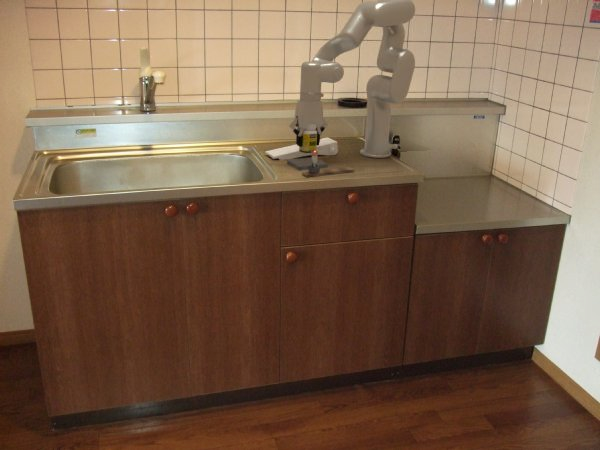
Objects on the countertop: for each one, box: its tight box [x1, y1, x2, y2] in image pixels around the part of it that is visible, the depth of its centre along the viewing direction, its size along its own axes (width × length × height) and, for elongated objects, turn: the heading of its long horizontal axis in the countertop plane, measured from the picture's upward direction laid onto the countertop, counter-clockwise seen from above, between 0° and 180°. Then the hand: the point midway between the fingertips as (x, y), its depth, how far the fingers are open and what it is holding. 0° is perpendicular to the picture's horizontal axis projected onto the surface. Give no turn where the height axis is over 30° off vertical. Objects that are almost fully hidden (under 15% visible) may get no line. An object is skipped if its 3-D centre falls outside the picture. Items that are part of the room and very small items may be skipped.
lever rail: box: [301, 166, 355, 178], centre depth 220 cm, size 20×3×1 cm, turn 117°
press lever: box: [307, 150, 321, 173], centre depth 215 cm, size 3×3×8 cm
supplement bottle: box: [299, 124, 317, 156], centre depth 225 cm, size 6×6×11 cm
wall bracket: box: [264, 136, 339, 161], centre depth 243 cm, size 10×7×28 cm
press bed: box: [286, 157, 329, 171], centre depth 229 cm, size 12×10×1 cm
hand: (307, 145), depth 226 cm, fingers closed on supplement bottle, 6 cm apart
